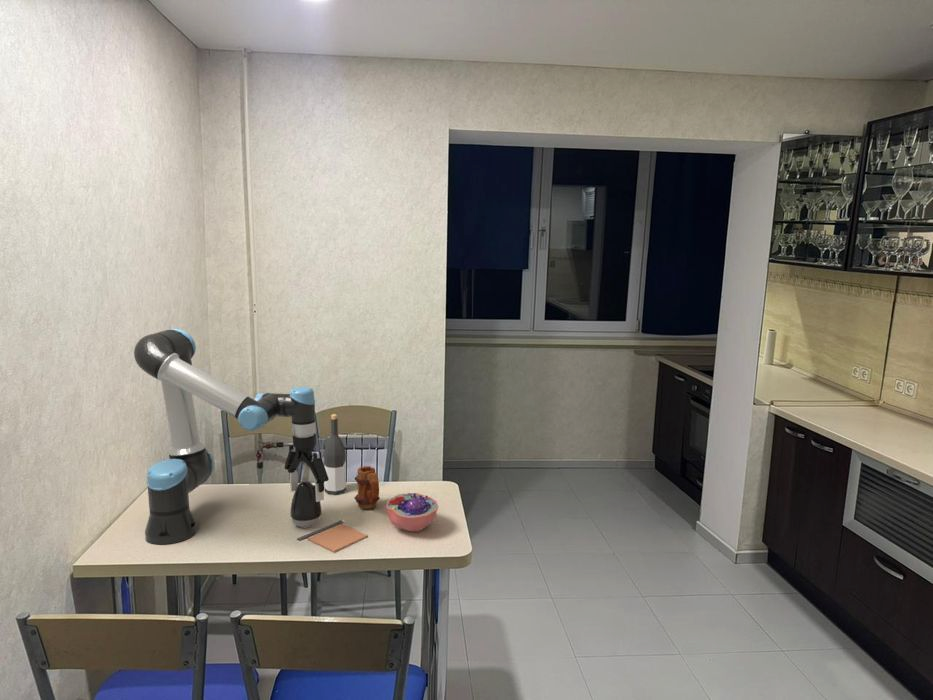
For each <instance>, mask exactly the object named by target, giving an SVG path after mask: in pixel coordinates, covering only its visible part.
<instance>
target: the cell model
mask: <svg viewBox="0 0 933 700" xmlns="http://www.w3.org/2000/svg"><path fill="white" fill-rule="evenodd" d="M438 509H439V504H438V501H437V500H435V499H434V498H433V497H431V496H428V495H424V494H421V493H415V492H411V493H410V492H406V493H401V494H400V493H399V494H397V495H394V496H393V497H391V498H390V499H388V500H387V502H386V508H385V513H386V516H387V518H388V520H389V522H390V523H391V524H392V525H393V526H394V528H396V529H399V530H404V531H407V532H411V533H415V532H420V531H422V530H423V529H424V528H425V529H426V528H427V527H428V526H429V525H430V524H431V523H433V521H435V519H436V518H437V512H438V511H439V510H438Z"/></svg>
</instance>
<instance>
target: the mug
mask: <svg viewBox="0 0 933 700" xmlns="http://www.w3.org/2000/svg"><path fill="white" fill-rule="evenodd" d="M354 480H355V482H356V483H357V494H356V495H355V496H353V497H354V498H353V499H354V500H355V503H357V505H358V508H359V509H361V510H362V509H363V510H369V509H374V508H375V507H377V502H378V501H379V500H380V484H379V481H380V480H379V478H378V474H377V472H376V469H375V468H374V467H371V466H370V465H369V466H368V465H366V466H365V465H364V466H360V467H358V468H357V474H356V476H355V477H354Z"/></svg>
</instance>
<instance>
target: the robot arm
mask: <svg viewBox="0 0 933 700" xmlns="http://www.w3.org/2000/svg"><path fill="white" fill-rule="evenodd" d="M196 346H197V345H196V343H195V340H194V338H193V337H192V335H190V334H189V333H188V332H186V331H185V330H183V329H179V328H171V329H169V328H168V329H164V330H162V331H157V332H156V333H151V334H147V335H145V336H143V337H142V338H140V339H139V340H138V341H137V342H136V345H135V347H134V350H133V356H134V360H135V363H136V364H137V365H138V367H139V368H140V369H141V370H143V371H144V372H145V373H147V374H148V375H149V376H151V377H152V378H155V379H156V380H158V381H160V382H161V387H162V393H163V399H164V405H165V412H166V417H167V422H168V427H169V428H168V429H169V434H170V441H171V445H172V446H171V449H170V450H169V451H168V456H169V458H168V459H163V461H162V460H161V461H158V462H156V463H154V464H153V465H151V466H150V467H149V468H148V470H147V474H146V477H147V478H146V485H147V496H148V497H147V498H148V505H149V506H148V507H149V517H148V520H147V523H146V527H145V531H144V536H145V537H144V538H145V541H146V542H147V543H150V544H155V545H171V544H176V543H179V542H182V541H185V540H188V539H190V538H191V537H193V536H194V535H195V534H196V532H197V522H196V520H195V518H194V515H193V513H192V512H191V509H190V501H189V500H190V499H189V494H190V493H191V492H193V491H195V490H196V489H197V488H199V486H202V485H204V483H205V482H207V481H208V480H209V479H210V478H211V476H212V475H213V473H214V472H215V471H214V470H215V460H214V456H213V455H212V453H210V452H209V450H207V447H206V444H204V443H203V442H201V441H200V435H199V430H198V423H197V417H196V411H195V410H196V409H195V406H194V398H193V396H194V397H197V398H198V399H200V400H202V401H204V402H206V403H208V404H209V405H211V406H213V407H214V408H217V409H218V410H221V411H223V412H224V413H226V414H228V415H230V416H232V417H233V418H236V419H237V420H238V424H239V425H240V426H241V428H242V429H243V430H245V431H248V432H254V431H257V430H260V429H262V428H263V427H265V425H266V424H267V423H270V422H271V421H273V420H274V419H275V418H277V417H282V418H285V417H286V418H291V433H292V444H291V445H289V446H288V451H289V452H288V454H287V457H286V460H285V464H284V467H283V468H284V469H285V470H287V472H288V477H289V478H288V479H289V488H290V492H291V493H294V492H295V490H296V488H297V486H298V485H299V477H298V475H299V474H298V467H299V466H300V464H301V462H303V463H304V464H306V465H307V466H308V467H309V469H310V471H311V473H312V475H313V477H314V479H315V482H314V485H315V490H316V502H319V501H320V502H321V501H324V500H325V493H324V492H325V483H324V482H325V481H328V480H329V478H328V475H327V472H326V469H325V466H324V460H323V457H322V452H321V451H320V450H319V451H315V447H316V446H317V434H316V433H317V429H316V399H315V391H314V389H313V388H311V387H310V386H309V387H308V386H301V387H300V386H298V387H293V388H292V389H290V392H289V393H272V392H271V393H270V392H265V393H264V392H263V393H262V392H261V393H257V394H256V395H255V397H254V399H253V398H252V397H251V396H248V395H246V394H245V393H243V392H241V391H239V390H237V389H236V388H234V387H232V386H230V385H228V384H226V383H225V382H223V381H221V380H219V379H217V378H215V377H214V376H212V375H210V374H208V373H206V372H204V371H202V370H200V369H199V368H198V367H195V366H194V365H193V362H192V359H193V357H194V355H195V354H196V351H197V350H196V348H197V347H196ZM324 477H325V478H324Z"/></svg>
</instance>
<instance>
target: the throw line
mask: <svg viewBox="0 0 933 700" xmlns="http://www.w3.org/2000/svg"><path fill="white" fill-rule="evenodd" d="M340 524H344V520H341V519H340V520H338V521H335V522H332V523H330V524H328V525H325V526H323V527H322V528H318V529H316V530H313V531H312V532H309V533H307V534H305V535H302V536H300V537H296V540H297V541H299V542H301V541H303V540H305V539H307V538H309V537H312V536H314V535H316V534H319V533H321V532H323V531H326V530H328V529H330V528H333V527H335V526H337V525H340Z"/></svg>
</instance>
